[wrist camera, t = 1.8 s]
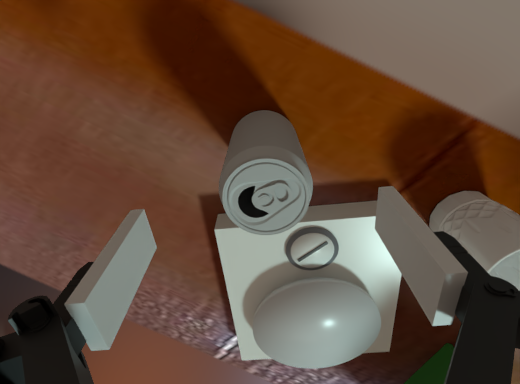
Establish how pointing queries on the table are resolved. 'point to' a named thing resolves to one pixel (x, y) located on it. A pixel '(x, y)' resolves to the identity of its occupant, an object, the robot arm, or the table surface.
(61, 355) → the robot arm
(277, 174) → the beverage can
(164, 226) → the table surface
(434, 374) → the hardback book
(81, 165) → the table surface
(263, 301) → the kitchen scale
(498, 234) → the white cup
